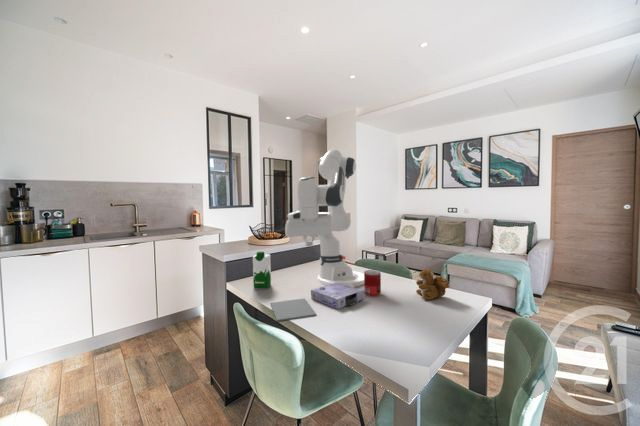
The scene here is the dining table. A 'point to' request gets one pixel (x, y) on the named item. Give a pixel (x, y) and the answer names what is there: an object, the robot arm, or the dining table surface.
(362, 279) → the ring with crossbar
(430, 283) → the stuffed squirrel
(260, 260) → the milk carton
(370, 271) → the canned food
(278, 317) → the mat
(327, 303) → the cake pan box
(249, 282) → the dining table surface
